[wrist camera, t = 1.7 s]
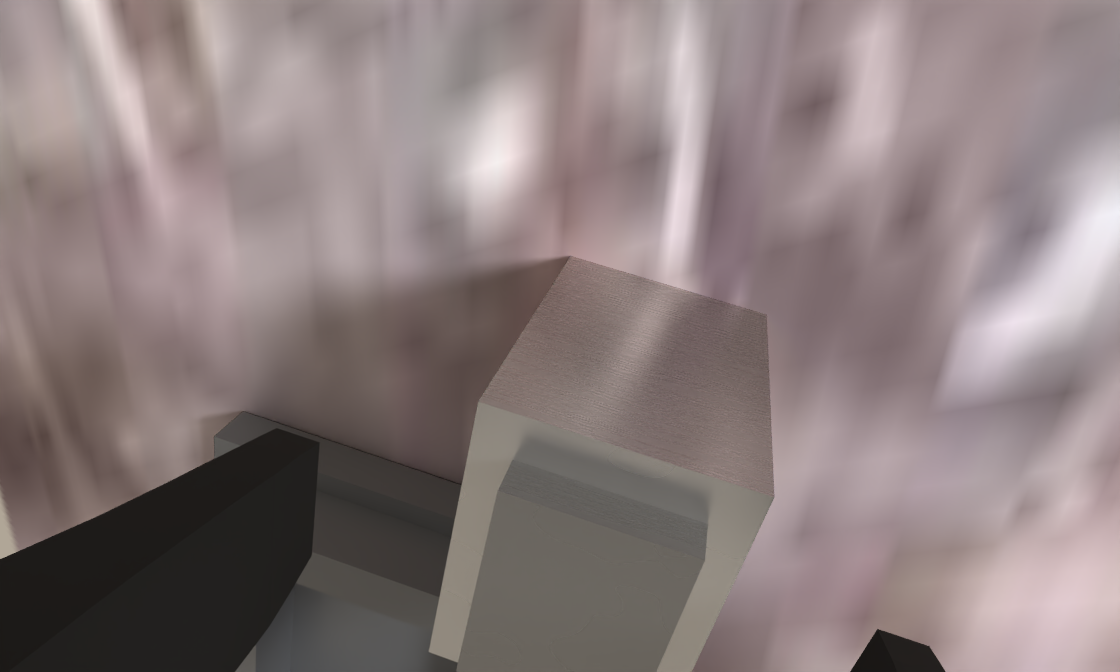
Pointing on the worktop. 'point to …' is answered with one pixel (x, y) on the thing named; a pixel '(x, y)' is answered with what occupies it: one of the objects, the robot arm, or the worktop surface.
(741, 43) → the worktop surface
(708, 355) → the grey rectangular block
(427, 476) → the chassis
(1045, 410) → the worktop surface
